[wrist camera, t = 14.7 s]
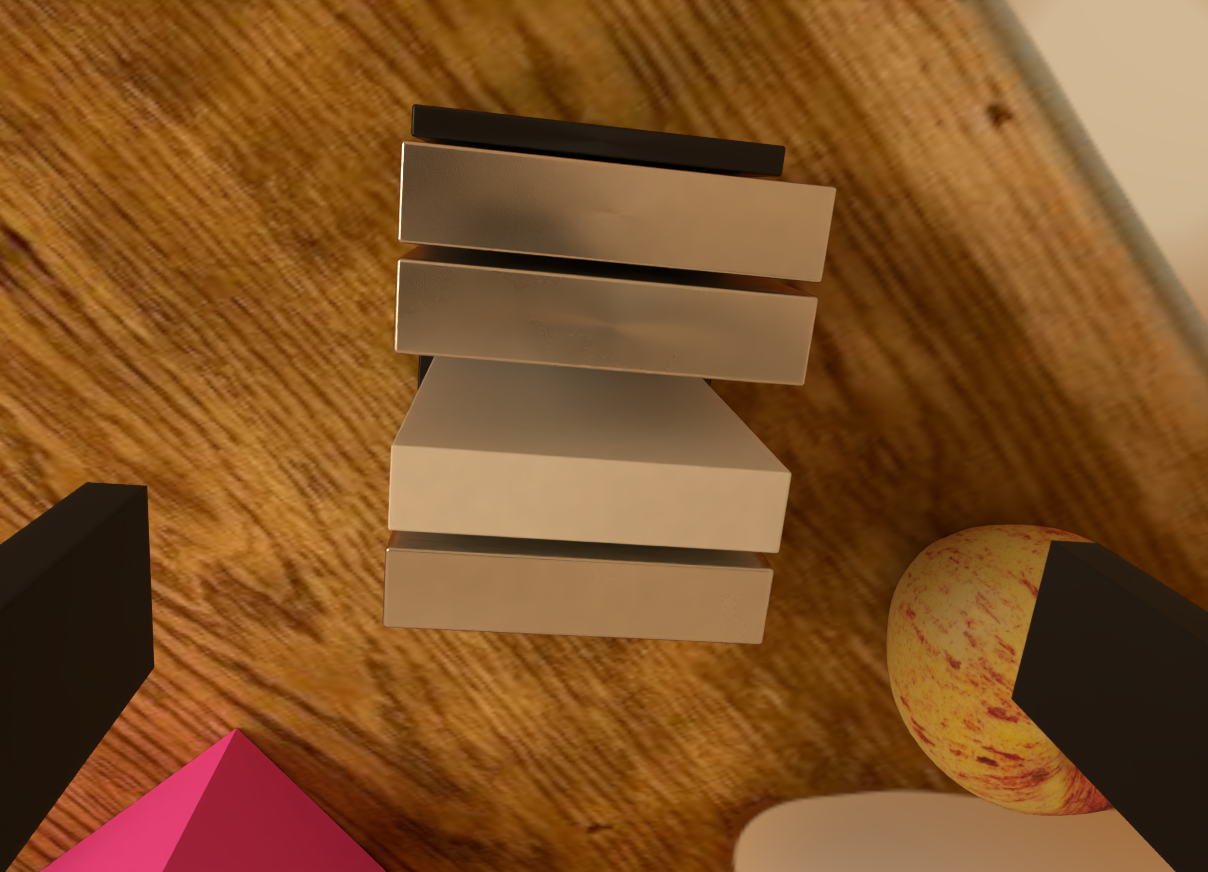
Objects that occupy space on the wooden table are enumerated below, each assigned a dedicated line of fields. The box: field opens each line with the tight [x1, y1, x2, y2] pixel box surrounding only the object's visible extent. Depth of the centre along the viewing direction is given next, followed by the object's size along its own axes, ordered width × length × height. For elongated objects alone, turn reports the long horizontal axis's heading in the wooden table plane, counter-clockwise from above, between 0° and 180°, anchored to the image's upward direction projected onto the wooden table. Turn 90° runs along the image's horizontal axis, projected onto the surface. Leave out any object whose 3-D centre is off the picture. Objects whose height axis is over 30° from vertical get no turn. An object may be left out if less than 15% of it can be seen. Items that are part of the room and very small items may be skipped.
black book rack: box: [383, 104, 836, 644], centre depth 25 cm, size 13×10×12 cm
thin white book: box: [388, 356, 791, 553], centre depth 25 cm, size 2×9×11 cm, turn 84°
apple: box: [887, 524, 1114, 816], centre depth 30 cm, size 9×9×10 cm
